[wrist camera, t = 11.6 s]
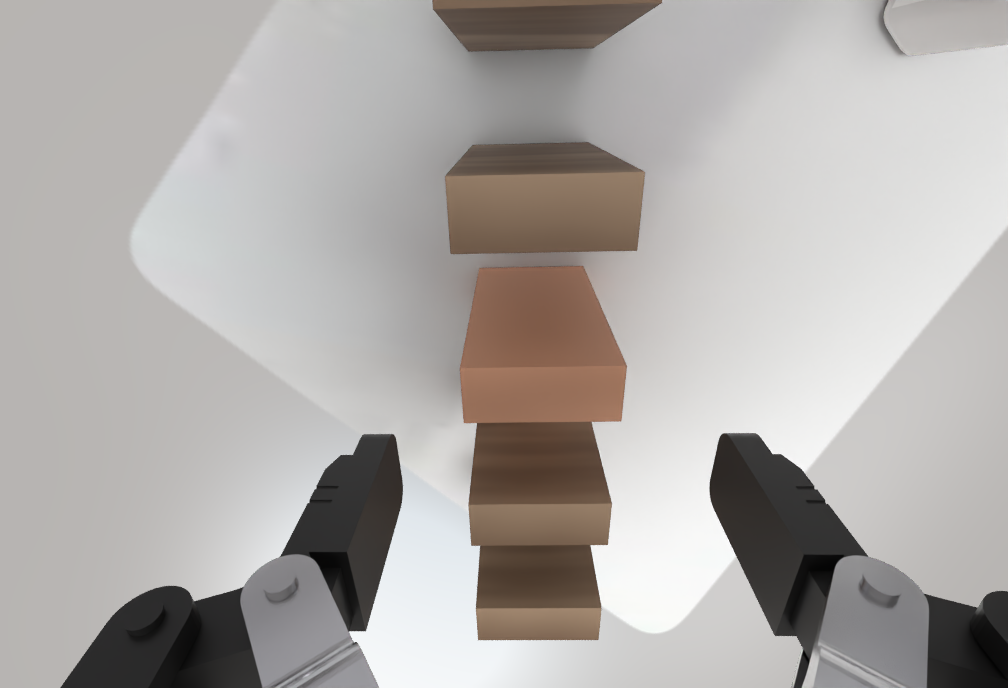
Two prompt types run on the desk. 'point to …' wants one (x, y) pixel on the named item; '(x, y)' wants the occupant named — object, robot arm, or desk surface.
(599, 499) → the domino
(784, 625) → the robot arm
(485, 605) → the domino
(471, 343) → the domino
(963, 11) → the eye dropper bottle
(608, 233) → the domino
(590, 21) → the domino
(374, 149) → the desk surface
